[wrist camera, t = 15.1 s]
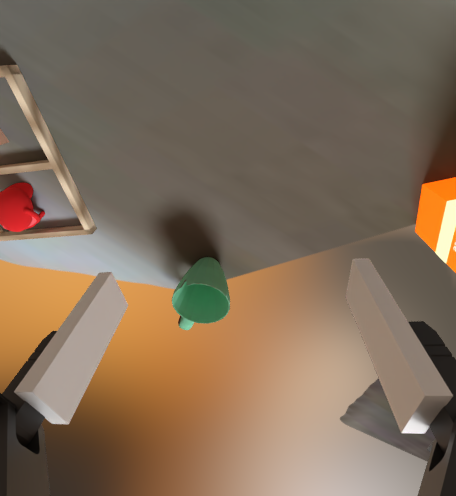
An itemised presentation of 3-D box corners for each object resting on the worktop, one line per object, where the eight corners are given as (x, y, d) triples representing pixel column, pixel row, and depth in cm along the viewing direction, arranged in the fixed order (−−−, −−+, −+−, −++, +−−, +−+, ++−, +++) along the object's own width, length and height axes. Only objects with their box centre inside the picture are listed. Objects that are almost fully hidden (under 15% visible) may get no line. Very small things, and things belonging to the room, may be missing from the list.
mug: (194, 238, 48) (183, 274, 40) (241, 259, 50) (240, 297, 42) (170, 288, 56) (156, 327, 48) (211, 304, 58) (205, 343, 50)
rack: (-110, 86, 36) (-125, 87, 35) (17, 64, 34) (6, 65, 32) (2, 236, 50) (-6, 241, 49) (96, 228, 48) (92, 234, 46)
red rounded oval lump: (43, 237, 46) (31, 223, 40) (1, 236, 44) (-17, 221, 38) (48, 197, 48) (37, 179, 43) (9, 194, 46) (-8, 175, 41)
